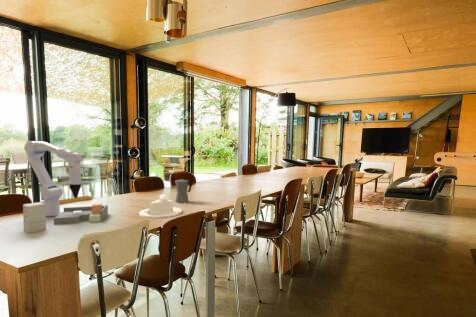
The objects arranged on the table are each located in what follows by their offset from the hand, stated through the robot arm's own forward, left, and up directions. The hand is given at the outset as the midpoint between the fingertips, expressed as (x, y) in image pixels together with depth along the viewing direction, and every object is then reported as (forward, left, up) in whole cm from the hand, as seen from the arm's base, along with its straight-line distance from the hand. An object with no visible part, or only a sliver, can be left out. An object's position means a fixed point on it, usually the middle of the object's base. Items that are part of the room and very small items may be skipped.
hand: (75, 197), depth 163 cm
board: (+5, -8, -10) cm, 14 cm away
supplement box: (-11, -25, -11) cm, 29 cm away
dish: (+47, -4, -11) cm, 48 cm away
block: (+13, -8, -7) cm, 17 cm away
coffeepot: (+62, +25, -11) cm, 68 cm away
